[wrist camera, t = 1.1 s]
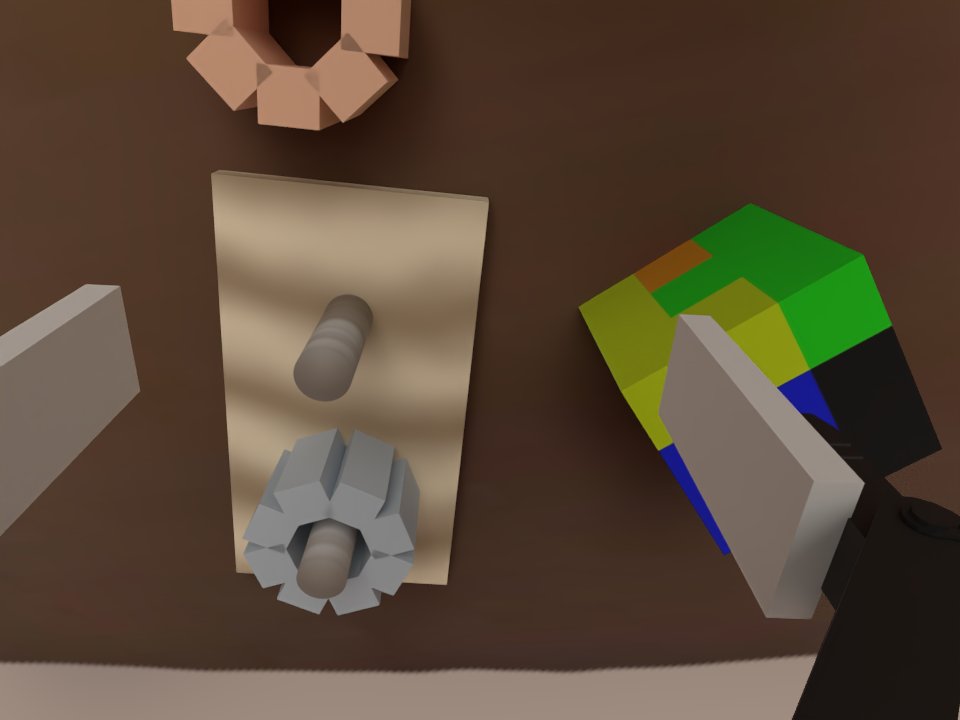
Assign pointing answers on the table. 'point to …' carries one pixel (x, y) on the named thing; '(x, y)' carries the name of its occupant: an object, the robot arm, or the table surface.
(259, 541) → the gear
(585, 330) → the table surface
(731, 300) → the puzzle toy
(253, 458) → the gear board
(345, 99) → the loose gear
